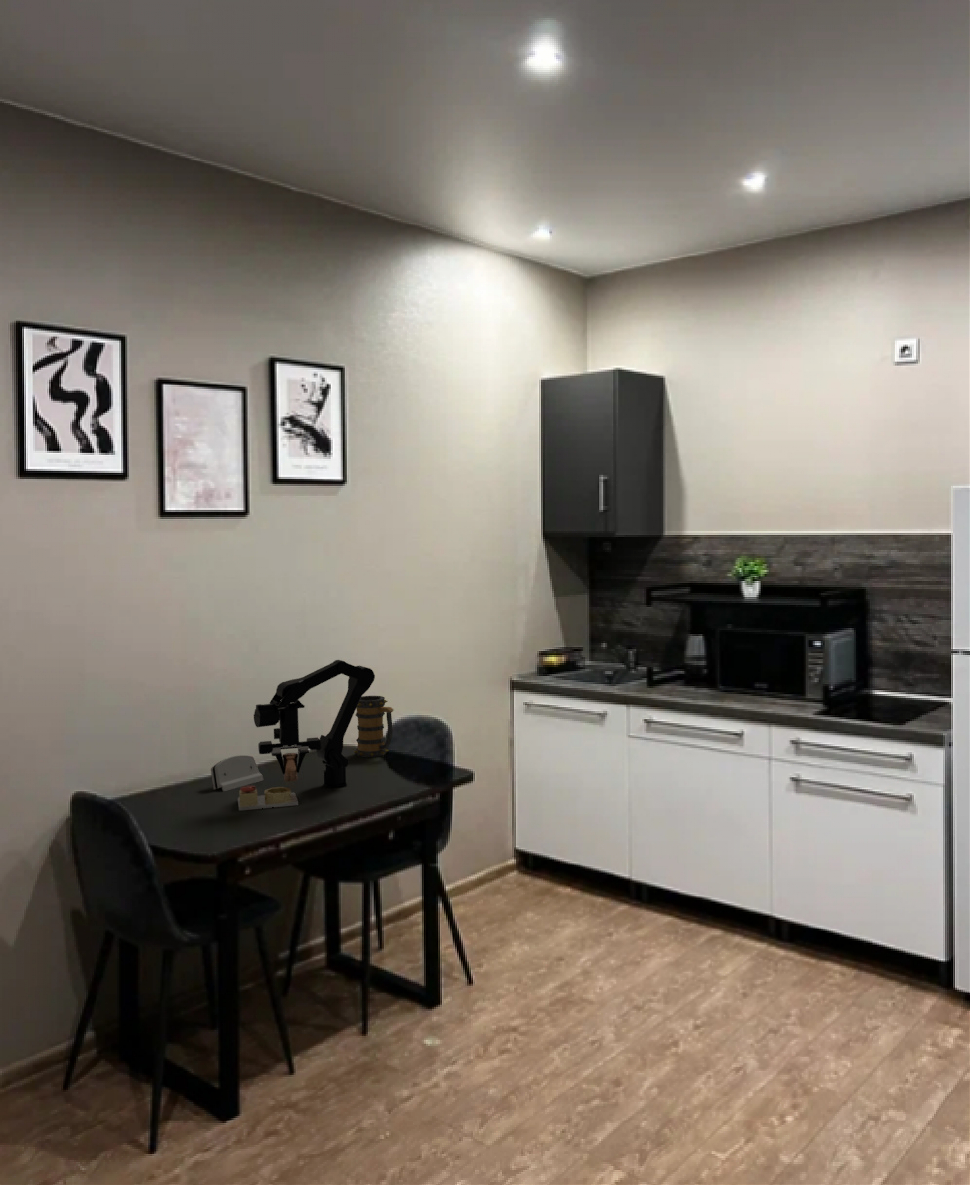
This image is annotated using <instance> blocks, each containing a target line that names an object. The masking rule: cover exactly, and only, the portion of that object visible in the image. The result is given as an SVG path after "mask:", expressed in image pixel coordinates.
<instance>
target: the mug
mask: <svg viewBox="0 0 970 1185" xmlns="http://www.w3.org/2000/svg"><path fill="white" fill-rule="evenodd" d="M385 698H386V697H385V696H383V695H364V696H363V695H362V696H361V698H360V701H359V703H358V705H357V708H356V712H355V717H357V726H356V728H357V730H358V731H357V732H358V734H357V735H358V737H357V739H355V740H356V743H357V748H356V750H354V751H353V753H355V754H356V756H358V757H363V758H376V757H382V756H384V755H386V754H387V752H389V751H390V750H389V749H388V748H389V747H390V746H391V743H392V739H393V732H394V729H393V720H392V713H393V712H394V711H395V709H394V708H392V707H391V706H385V705H386V703H387V702H388V700H386V699H385ZM385 714H386V723H387V736H386V737H385V736H384V728H385V725H384V723H383V722H384V721H383V720H384V715H385Z"/></svg>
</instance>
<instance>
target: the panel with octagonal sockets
mask: <svg viewBox="0 0 970 1185" xmlns="http://www.w3.org/2000/svg"><path fill="white" fill-rule="evenodd" d="M238 792H239V797H237V805H238V806H237V807H238V811H249V810H263V809H272V807H274V808H282V807H284V808H285V807H293V806H299V801H298V798H297V795H296V792H292V790H291V788H290V787H284V786H276V787H275V786H274V787H270V788H267V789H264V794H263V795H258V789H257V788H256V785H254V784H248V785H245V786H241V787H240V789H239V791H238ZM262 808H263V809H262Z"/></svg>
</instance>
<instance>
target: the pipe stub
mask: <svg viewBox="0 0 970 1185" xmlns="http://www.w3.org/2000/svg"><path fill="white" fill-rule="evenodd" d="M282 759H283V765H284V774H283V778H284V779H283V780H284V782H290V783H291V782H297V781H298V773H297V759H298V752H297V753H296V752H286V753H284V754H282Z"/></svg>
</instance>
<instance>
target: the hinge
mask: <svg viewBox="0 0 970 1185" xmlns="http://www.w3.org/2000/svg"><path fill="white" fill-rule="evenodd" d="M258 767H259V766H258V765H257V763H256V760H255V758H254V756H251V755H234V756H230V757H227V758H225V759H223V760H220V761H218V762H217V763H216V764H214V765H213V766H212V767H211V768H210V774H211V779H212V780H211V782H212V787H213V788H212V789H213V790H217V789H220V788H221V790H222V792H227V791H230V790H234V789H238V788H241V787H242V786H246V785H253V784H257V783H258V782H262V781H264V776H263V774H262V773H261V772H260V770H259V768H258Z"/></svg>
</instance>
